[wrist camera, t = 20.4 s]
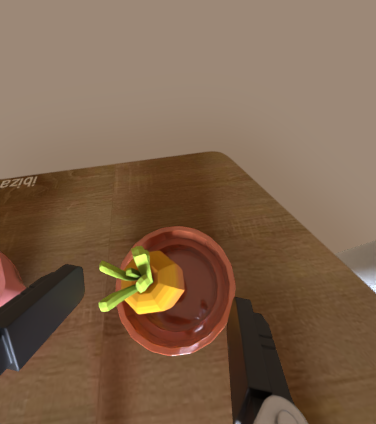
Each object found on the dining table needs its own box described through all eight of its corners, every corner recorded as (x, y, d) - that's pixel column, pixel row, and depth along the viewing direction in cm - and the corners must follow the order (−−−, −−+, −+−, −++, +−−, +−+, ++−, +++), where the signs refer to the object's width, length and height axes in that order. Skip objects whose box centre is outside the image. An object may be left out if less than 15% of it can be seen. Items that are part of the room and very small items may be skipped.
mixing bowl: (215, 237, 27) (221, 220, 22) (234, 332, 22) (249, 344, 16) (134, 247, 27) (118, 233, 21) (133, 347, 22) (111, 365, 16)
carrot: (166, 316, 22) (93, 346, 9) (150, 279, 24) (71, 258, 11) (200, 294, 23) (181, 291, 9) (182, 259, 25) (144, 217, 12)
